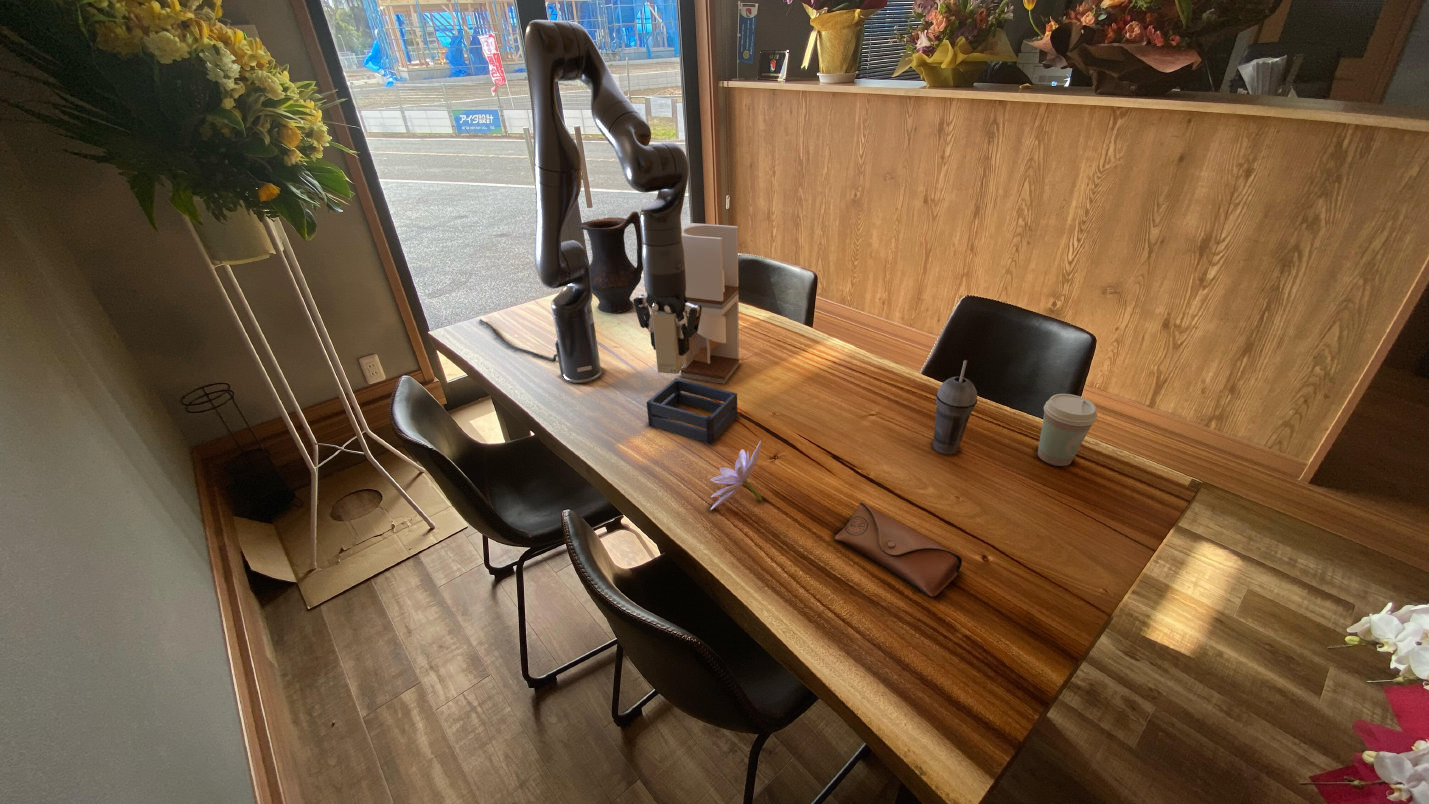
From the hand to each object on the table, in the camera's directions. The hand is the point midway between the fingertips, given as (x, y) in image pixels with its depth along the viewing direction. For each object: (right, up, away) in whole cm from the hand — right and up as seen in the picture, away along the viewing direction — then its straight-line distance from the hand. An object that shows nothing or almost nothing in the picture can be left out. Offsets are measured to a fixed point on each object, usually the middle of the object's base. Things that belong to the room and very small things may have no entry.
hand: (670, 350), depth 111 cm
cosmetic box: (0, -3, +2) cm, 4 cm away
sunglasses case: (+37, -34, -21) cm, 54 cm away
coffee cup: (+74, -21, -1) cm, 77 cm away
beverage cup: (+55, -19, +3) cm, 58 cm away
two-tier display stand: (+8, -2, +34) cm, 34 cm away
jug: (-22, +20, +71) cm, 77 cm away
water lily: (+12, -27, -7) cm, 30 cm away
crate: (+4, -14, +14) cm, 20 cm away
